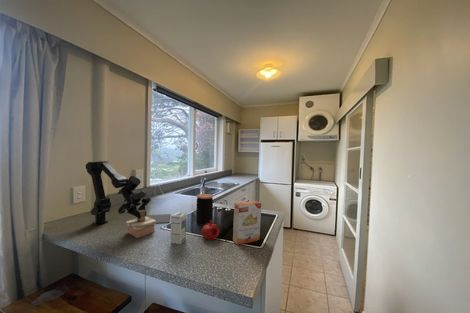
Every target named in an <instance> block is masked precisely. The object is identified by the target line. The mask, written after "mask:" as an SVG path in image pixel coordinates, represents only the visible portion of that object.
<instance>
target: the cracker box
mask: <svg viewBox="0 0 470 313" xmlns="http://www.w3.org/2000/svg"><path fill="white" fill-rule="evenodd" d="M233 206H234V207H233V226H232V229H233V230H232V231H233V233H232V241H233V242H234V243H235V244H236V245H237V246H239V244H240V245H243V244H248V243H254V242H257V241H258V240H259V241H260V239H261V238H260V237H261V235H260V234H261V217H262V216H261V214H262V203H261V202H260V201H257V200H249V201H241V202H234V205H233Z"/></svg>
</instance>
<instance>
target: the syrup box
mask: <svg viewBox="0 0 470 313" xmlns="http://www.w3.org/2000/svg"><path fill="white" fill-rule="evenodd" d="M186 228H187V213H185V212H178V211H177V212H175V213H174V214H171V216H170V243H171V244H174V243H176V245H182V244H183V242H185V240H186V239H187V235H186V234H187V232H186V231H187V229H186Z"/></svg>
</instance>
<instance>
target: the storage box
mask: <svg viewBox="0 0 470 313" xmlns="http://www.w3.org/2000/svg"><path fill="white" fill-rule="evenodd" d="M154 232H155V224H154V225H151V226H148V227H145V228H142V229H139V230H135V229H133V228H131V227H129V226H127V234H130V235H131V236H133V237H134V238H136V239H138V238H141V237H143V236H146V235H150V234H152V233H154Z"/></svg>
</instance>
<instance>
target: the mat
mask: <svg viewBox="0 0 470 313" xmlns="http://www.w3.org/2000/svg"><path fill="white" fill-rule="evenodd" d="M171 216H172V214H171V213H166V214H165V213H164V214H162V213H161V214H146V217H149V218H151V219H154V220H156V224H155V225H158V224H170V223H171Z"/></svg>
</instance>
